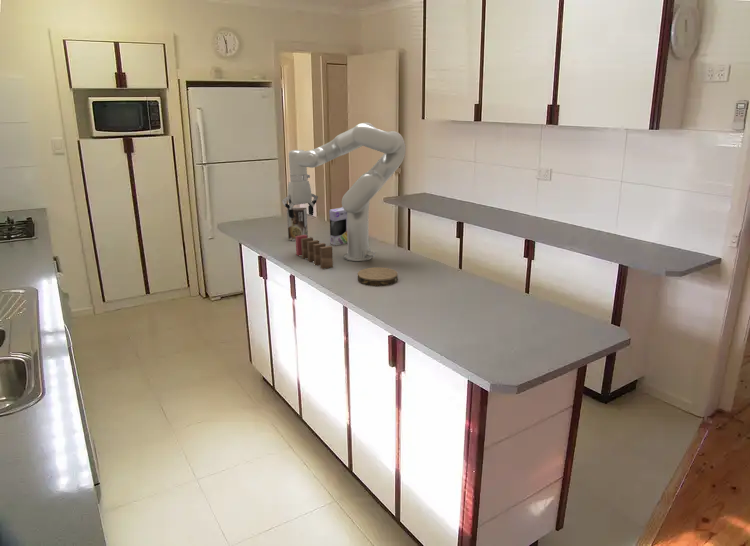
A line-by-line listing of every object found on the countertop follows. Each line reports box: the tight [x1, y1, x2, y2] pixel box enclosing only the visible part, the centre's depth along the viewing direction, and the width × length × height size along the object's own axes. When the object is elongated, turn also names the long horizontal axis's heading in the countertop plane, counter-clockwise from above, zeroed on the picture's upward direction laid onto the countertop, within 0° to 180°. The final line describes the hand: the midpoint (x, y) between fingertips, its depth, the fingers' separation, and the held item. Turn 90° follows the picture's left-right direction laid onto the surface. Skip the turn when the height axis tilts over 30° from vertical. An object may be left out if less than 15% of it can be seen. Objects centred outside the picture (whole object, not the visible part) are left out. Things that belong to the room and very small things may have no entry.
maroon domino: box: [295, 235, 307, 257], centre depth 250 cm, size 2×5×9 cm, turn 123°
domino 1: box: [301, 236, 314, 260], centre depth 245 cm, size 2×5×9 cm, turn 123°
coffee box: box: [286, 207, 309, 242], centre depth 276 cm, size 9×6×16 cm
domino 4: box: [319, 245, 334, 270], centre depth 231 cm, size 2×5×9 cm, turn 123°
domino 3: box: [313, 242, 327, 266], centre depth 235 cm, size 2×5×9 cm, turn 123°
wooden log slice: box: [357, 267, 399, 287], centre depth 216 cm, size 16×16×3 cm
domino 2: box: [307, 239, 320, 263], centre depth 240 cm, size 2×5×9 cm, turn 123°
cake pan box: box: [328, 206, 347, 246], centre depth 271 cm, size 19×5×18 cm, turn 131°
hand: (301, 216), depth 246 cm, fingers open, 9 cm apart
